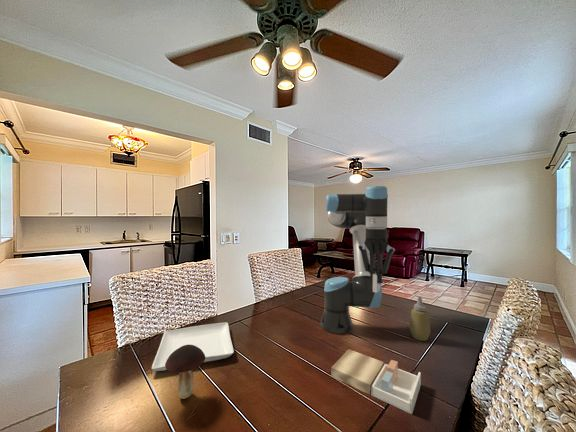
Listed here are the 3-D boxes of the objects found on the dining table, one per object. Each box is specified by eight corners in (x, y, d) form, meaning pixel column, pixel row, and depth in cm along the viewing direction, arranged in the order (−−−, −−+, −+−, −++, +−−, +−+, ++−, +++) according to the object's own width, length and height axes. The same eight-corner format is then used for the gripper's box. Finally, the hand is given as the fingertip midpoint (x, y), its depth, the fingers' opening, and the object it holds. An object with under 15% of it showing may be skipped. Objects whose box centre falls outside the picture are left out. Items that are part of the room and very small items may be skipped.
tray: (371, 395, 70) (371, 381, 70) (384, 371, 81) (384, 359, 81) (412, 414, 63) (412, 399, 63) (420, 385, 74) (420, 372, 74)
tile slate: (381, 379, 69) (388, 382, 68) (386, 370, 73) (393, 373, 71) (381, 396, 69) (388, 399, 68) (386, 386, 73) (393, 389, 71)
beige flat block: (331, 376, 78) (331, 367, 78) (348, 356, 89) (348, 349, 89) (370, 394, 70) (370, 384, 70) (383, 370, 81) (383, 362, 81)
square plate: (164, 338, 103) (164, 330, 103) (227, 329, 112) (227, 321, 112) (150, 378, 77) (150, 367, 77) (234, 362, 86) (234, 351, 87)
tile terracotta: (386, 366, 75) (393, 369, 73) (391, 359, 78) (397, 361, 77) (387, 382, 74) (393, 385, 73) (391, 374, 78) (397, 377, 77)
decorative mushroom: (209, 383, 75) (209, 336, 75) (197, 411, 64) (197, 356, 64) (175, 384, 74) (175, 337, 74) (156, 412, 63) (157, 357, 64)
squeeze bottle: (433, 343, 98) (433, 301, 99) (412, 341, 100) (412, 299, 100) (426, 334, 106) (426, 294, 107) (407, 332, 108) (407, 293, 108)
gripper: (355, 227, 88) (355, 290, 88) (391, 229, 79) (391, 298, 80) (363, 226, 93) (362, 285, 94) (397, 228, 85) (397, 292, 85)
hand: (375, 291), depth 87 cm, fingers closed
